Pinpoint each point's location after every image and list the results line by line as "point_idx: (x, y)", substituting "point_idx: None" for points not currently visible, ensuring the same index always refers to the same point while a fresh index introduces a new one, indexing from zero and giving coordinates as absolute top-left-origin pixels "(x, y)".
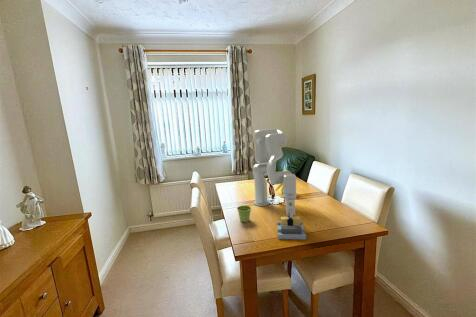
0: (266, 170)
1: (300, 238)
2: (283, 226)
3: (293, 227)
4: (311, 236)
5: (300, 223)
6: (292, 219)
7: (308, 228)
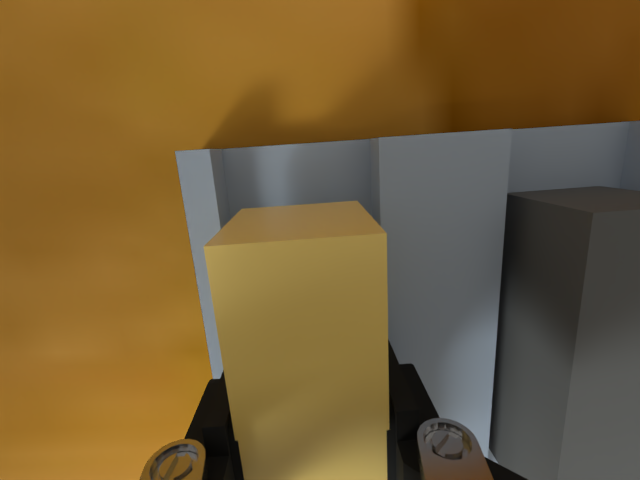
0: None
1: None
2: None
3: (631, 357)
4: (555, 25)
5: (219, 183)
6: (468, 437)
7: (290, 46)
